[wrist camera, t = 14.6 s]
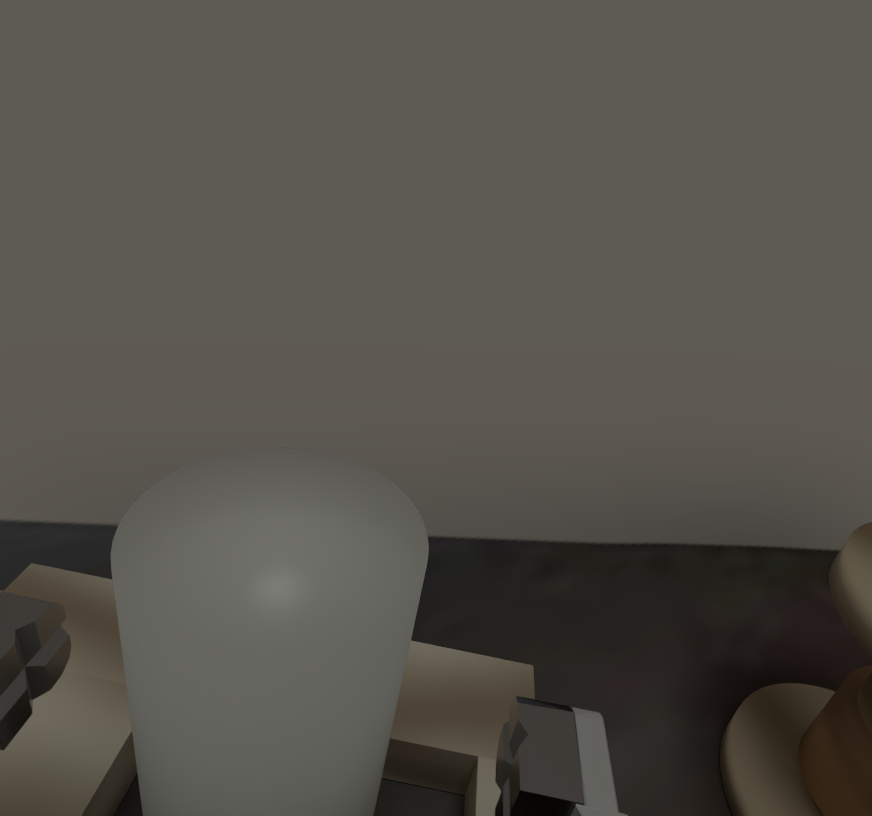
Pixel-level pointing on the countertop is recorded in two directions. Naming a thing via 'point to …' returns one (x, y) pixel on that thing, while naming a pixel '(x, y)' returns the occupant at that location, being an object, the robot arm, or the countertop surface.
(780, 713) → the spool
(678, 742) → the countertop surface
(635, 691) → the countertop surface
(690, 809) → the countertop surface
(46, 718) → the notch board
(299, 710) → the pin
